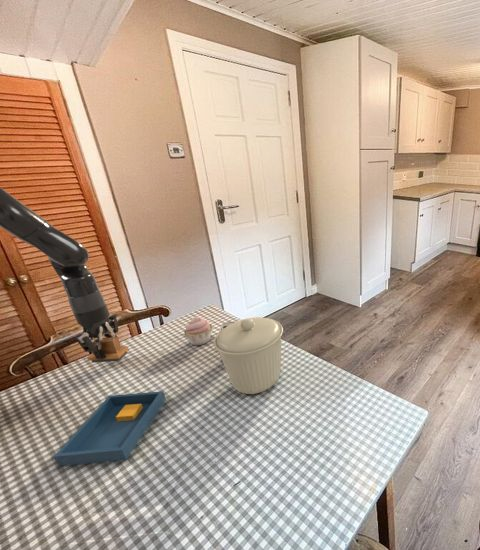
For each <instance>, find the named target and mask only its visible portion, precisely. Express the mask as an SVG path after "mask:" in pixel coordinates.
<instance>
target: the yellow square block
mask: <svg viewBox="0 0 480 550" xmlns="http://www.w3.org/2000/svg"><path fill="white" fill-rule="evenodd" d="M142 409H143V406H142V404H131V405H125V406H124V407H123V409H122V410H121V411H120V412H119V414H118V415H117V416H116V419H117V421H128V420H134V419H135V418H136V417H137V415H138V414H139V413H140V411H141V410H142Z"/></svg>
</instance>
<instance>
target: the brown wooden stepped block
mask: <svg viewBox="0 0 480 550" xmlns="http://www.w3.org/2000/svg"><path fill="white" fill-rule="evenodd" d="M94 339H98V338H94ZM94 345H95V346H97V344H96V342H94ZM101 348H103V351H104V353H105V356H106V358H104V359H99V360H98V359H96V357H95V355H94V353H93V351H91V353H90V354H89V355H88V356H87V357H86V359H87V361H88V362H90V361H91V363H92V364H94V363H108V362H119V361H121V360H122V359H123V358H124V357H125V356H126V355H127V354H128V351H129V346H128V345H121V342H120V339H119V337H118V336H115V337H110V338H105V337H103V341H101Z"/></svg>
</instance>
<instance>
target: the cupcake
mask: <svg viewBox="0 0 480 550" xmlns="http://www.w3.org/2000/svg"><path fill="white" fill-rule="evenodd" d="M212 330H213V324H212V323H211V324H210V323H209V321H208V320H206V319H205V318H203V317H201V316H194V317H192V319H190V321H189V322H188V323H187V324H186V325H185V330H184V331H183V333H184V334H183V336H184V337H185V338H187V339H188V341H189V343H190V344H191V345H192V346H202V345H205V344H207V343H208V342H210V340H211V338H212V337H211V336H212Z"/></svg>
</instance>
